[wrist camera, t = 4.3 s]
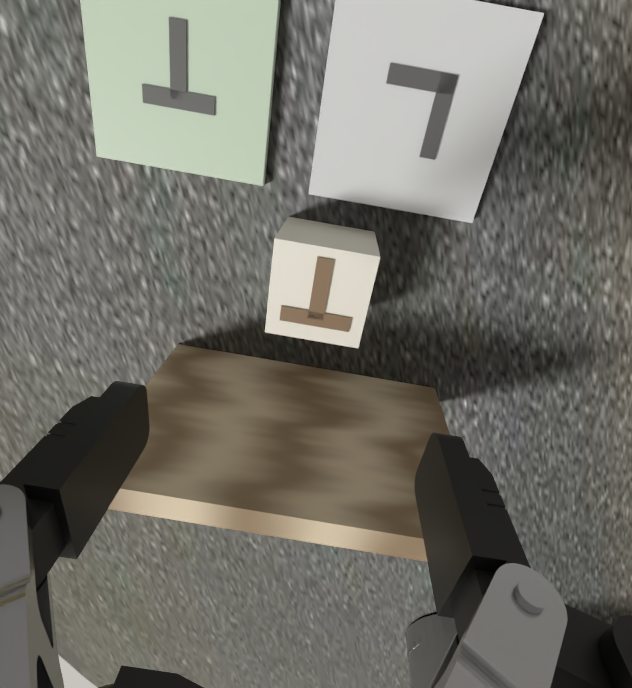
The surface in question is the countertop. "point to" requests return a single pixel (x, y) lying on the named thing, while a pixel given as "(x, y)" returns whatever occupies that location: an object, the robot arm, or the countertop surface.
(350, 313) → the cube
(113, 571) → the countertop surface
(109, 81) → the board
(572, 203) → the countertop surface
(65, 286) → the countertop surface
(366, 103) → the board
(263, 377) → the thin wooden plank
